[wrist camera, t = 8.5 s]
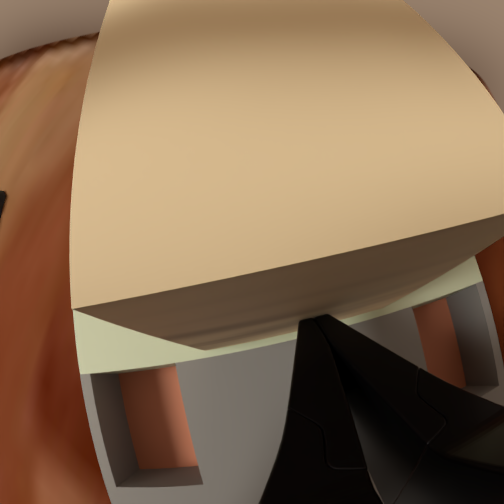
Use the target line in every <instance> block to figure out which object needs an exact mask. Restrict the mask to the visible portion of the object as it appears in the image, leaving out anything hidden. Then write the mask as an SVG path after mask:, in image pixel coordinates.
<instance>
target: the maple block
mask: <svg viewBox="0 0 504 504" xmlns="http://www.w3.org/2000/svg"><path fill="white" fill-rule="evenodd" d="M503 236H504V114H503V112H502V111H501V109H500V108H499V106H498V105H497V104H496V102H495V101H494V99H493V98H492V97H491V95H490V94H489V93H488V91H487V90H486V89H485V87H484V86H483V85H482V83H481V82H480V81H479V79H478V78H477V77H476V76H475V74H474V73H473V72H472V71H471V70H470V68H469V67H468V66H467V65H466V64H465V62H464V61H463V60H462V59H461V58H460V57H459V56H458V54H457V53H456V52H455V51H454V50H453V49H452V48H451V47H450V45H449V44H448V43H447V42H446V41H445V40H444V39H443V38H442V37H441V36H440V35H439V34H438V33H437V32H436V31H435V30H434V29H433V28H432V27H431V26H430V25H429V24H428V23H427V22H426V21H425V20H424V19H423V18H422V17H421V16H420V15H419V14H418V13H417V12H416V11H414V10H413V9H412V8H411V7H410V6H409V5H408V4H407V3H405V2H404V1H403V0H110V2H109V5H108V8H107V11H106V14H105V17H104V21H103V24H102V27H101V30H100V34H99V37H98V41H97V44H96V48H95V52H94V56H93V60H92V64H91V68H90V72H89V77H88V81H87V86H86V91H85V96H84V101H83V106H82V112H81V118H80V124H79V131H78V137H77V145H76V153H75V162H74V171H73V182H72V196H71V214H70V288H71V306H72V309H73V310H76V311H78V312H81V313H84V314H87V315H89V316H92V317H95V318H98V319H101V320H104V321H107V322H109V323H112V324H115V325H118V326H121V327H125V328H128V329H131V330H134V331H137V332H140V333H144V334H147V335H150V336H153V337H157V338H160V339H164V340H167V341H171V342H174V343H178V344H181V345H185V346H189V347H192V348H196V349H200V350H204V351H207V350H212V349H217V348H223V347H228V346H233V345H238V344H242V343H247V342H252V341H257V340H261V339H266V338H270V337H275V336H279V335H283V334H288V333H292V332H296V331H298V323H299V321H300V320H304V319H308V318H313V319H314V317H316V316H320V315H324V314H330V315H331V316H333V317H335V318H336V319H338V320H343V319H346V318H350V317H353V316H357V315H361V314H364V313H367V312H371V311H374V310H378V309H381V308H384V307H386V306H388V305H389V304H391V303H393V302H395V301H397V300H399V299H401V298H403V297H404V296H406V295H408V294H410V293H412V292H413V291H415V290H417V289H419V288H421V287H422V286H424V285H426V284H428V283H429V282H431V281H433V280H435V279H436V278H438V277H440V276H441V275H443V274H445V273H447V272H448V271H450V270H452V269H453V268H455V267H456V266H458V265H460V264H461V263H463V262H465V261H466V260H468V259H469V258H471V257H473V256H474V255H476V254H477V253H479V252H480V251H482V250H484V249H485V248H487V247H488V246H490V245H491V244H493V243H494V242H496V241H497V240H499V239H500V238H502V237H503Z"/></svg>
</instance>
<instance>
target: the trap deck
mask: <svg viewBox="0 0 504 504" xmlns="http://www.w3.org/2000/svg"><path fill="white" fill-rule="evenodd" d="M73 316H74V328H75V338H76V347H77V355H78V363H79V370H80V377H81V383H82V389H83V395H84V400H85V406H86V411H87V416H88V420H89V425H90V429H91V434H92V438H93V442H94V446H95V450H96V454H97V458H98V461H99V465H100V468H101V472H102V475H103V479H104V482H105V485H106V488H107V491H108V494H109V497H110V500H111V503H112V504H258V503H259V501H260V499H261V496H262V494H263V491H264V489H265V486H266V483H267V481H268V478H269V475H270V473H271V470H272V467H273V464H274V462H275V459H276V456H277V453H278V449H279V446H280V443H281V439H282V435H283V430H284V425H285V419H286V413H287V407H288V400H289V393H290V386H291V379H292V371H293V364H294V356H295V348H296V339H297V331H296V332H292V333H288V334H283V335H279V336H275V337H270V338H266V339H261V340H257V341H252V342H247V343H242V344H238V345H233V346H228V347H223V348H217V349H212V350H207V351H204V350H200V349H196V348H192V347H189V346H185V345H181V344H178V343H174V342H171V341H167V340H164V339H160V338H157V337H153V336H150V335H147V334H144V333H140V332H137V331H134V330H131V329H128V328H125V327H121V326H118V325H115V324H112V323H109V322H107V321H104V320H101V319H98V318H95V317H92V316H89V315H87V314H84V313H81V312H78V311H76V310H73ZM340 321H341V322H343V323H345V324H347V325H348V326H350V327H352V328H353V329H355V330H357V331H358V332H360V333H362V334H364V335H365V336H367V337H369V338H370V339H372V340H374V341H375V342H377V343H379V344H381V345H382V346H384V347H386V348H387V349H389V350H391V351H393V352H394V353H396V354H398V355H400V356H401V357H403V358H405V359H406V360H408V361H410V362H412V363H413V364H415V365H417V366H418V367H419V368H422V369H424V370H426V371H427V372H429V373H431V374H433V375H435V376H436V377H438V378H440V379H442V380H444V381H446V382H448V383H450V384H452V385H454V386H457V387H459V388H461V389H463V390H465V391H468V392H470V393H473V394H475V395H477V396H480V397H482V398H485V399H487V400H489V401H492V402H494V403H497V404H499V405H502V406H504V366H503V360H502V355H501V350H500V345H499V340H498V336H497V331H496V327H495V323H494V319H493V315H492V311H491V307H490V304H489V300H488V296H487V293H486V290H485V286H484V283H483V280H482V277H481V273H480V270H479V267H478V264H477V261H476V259H475V256H473V257H471V258H469V259H468V260H466V261H465V262H463V263H461V264H460V265H458V266H456V267H455V268H453V269H452V270H450V271H448V272H447V273H445V274H443V275H441V276H440V277H438V278H436V279H435V280H433V281H431V282H429V283H428V284H426V285H424V286H422V287H421V288H419V289H417V290H415V291H413V292H412V293H410V294H408V295H406V296H404V297H403V298H401V299H399V300H397V301H395V302H393V303H391V304H389V305H388V306H386V307H384V308H381V309H378V310H374V311H371V312H367V313H364V314H361V315H357V316H353V317H350V318H346V319H343V320H340ZM368 472H369V471H368ZM369 475H370V473H369ZM370 478H371V481H372V484H373V486H374V489H375V491H376V492H377V494H378V496H379V497H380V499H381V496H380V494H379V492H378V490H377V488H376V486H375V484H374V481H373V479H372V477H371V475H370ZM381 500H382V499H381ZM382 502H383V501H382ZM383 504H384V503H383Z"/></svg>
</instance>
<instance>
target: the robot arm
mask: <svg viewBox="0 0 504 504" xmlns="http://www.w3.org/2000/svg"><path fill="white" fill-rule="evenodd" d="M368 471H369V472H368ZM369 473H370V475H371V477H372V479H373V481H374V484H375V486H376V488H377V490H378V492H379V494H380V496H381V499H382V500H381V499H380V497H379V496H378V494H377V492H376V491H375V489H374V486H373V484H372V481H371V478H370V475H369ZM382 501H383V502H382ZM383 503H384V504H504V406H502V405H499V404H497V403H494V402H492V401H489V400H487V399H485V398H482V397H480V396H477V395H475V394H473V393H470V392H468V391H465V390H463V389H461V388H459V387H457V386H454V385H452V384H450V383H448V382H446V381H444V380H442V379H440V378H438V377H436V376H435V375H433V374H431V373H429V372H427V371H426V370H424V369H422V368H419V367H418V366H417V365H415V364H413V363H412V362H410V361H408V360H406V359H405V358H403V357H401V356H400V355H398V354H396V353H394V352H393V351H391V350H389V349H387V348H386V347H384V346H382V345H381V344H379V343H377V342H375V341H374V340H372V339H370V338H369V337H367V336H365V335H364V334H362V333H360V332H358V331H357V330H355V329H353V328H352V327H350V326H348V325H347V324H345V323H343V322H341V321H340V320H338V319H336V318H335V317H333V316H331V315H330V314H324V315H320V316H316V317H314V319H313V318H308V319H304V320H300V321H299V323H298V331H297V339H296V348H295V356H294V364H293V371H292V379H291V386H290V393H289V400H288V407H287V413H286V419H285V425H284V430H283V435H282V439H281V443H280V446H279V449H278V453H277V456H276V459H275V462H274V464H273V467H272V470H271V473H270V475H269V478H268V481H267V483H266V486H265V489H264V491H263V494H262V496H261V499H260V501H259V503H258V504H383Z"/></svg>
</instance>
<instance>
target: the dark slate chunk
mask: <svg viewBox="0 0 504 504" xmlns="http://www.w3.org/2000/svg"><path fill="white" fill-rule="evenodd" d="M5 197H6V196H5V193H4V191H0V218H1V213H2V208H3V204H4V201H5Z"/></svg>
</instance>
